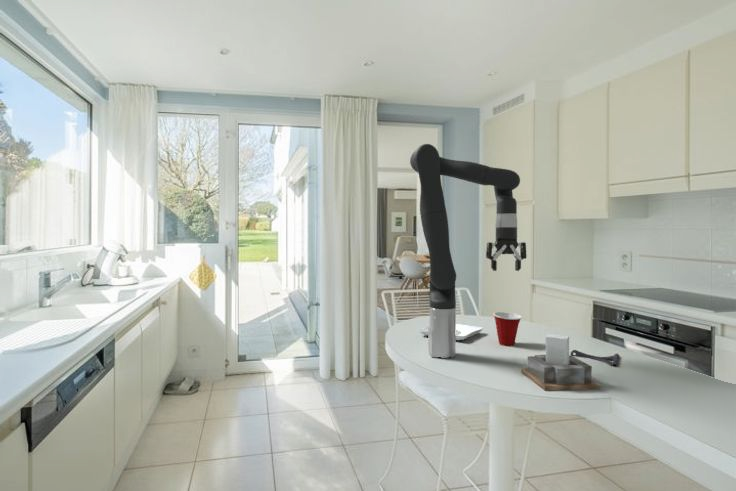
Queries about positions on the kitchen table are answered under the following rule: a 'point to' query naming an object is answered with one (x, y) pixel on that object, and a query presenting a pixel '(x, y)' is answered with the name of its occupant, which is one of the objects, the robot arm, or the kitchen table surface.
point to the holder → (559, 374)
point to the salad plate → (464, 329)
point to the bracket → (603, 359)
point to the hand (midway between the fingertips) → (506, 270)
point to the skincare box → (557, 349)
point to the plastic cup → (506, 327)
